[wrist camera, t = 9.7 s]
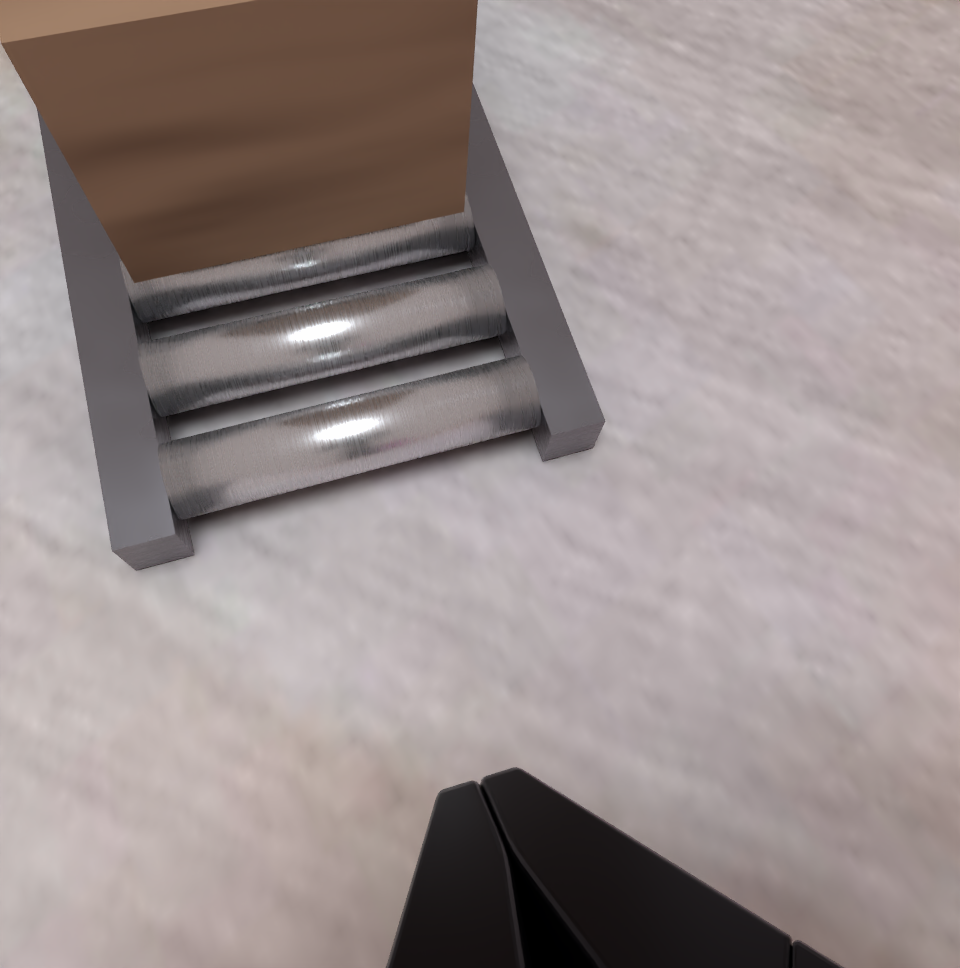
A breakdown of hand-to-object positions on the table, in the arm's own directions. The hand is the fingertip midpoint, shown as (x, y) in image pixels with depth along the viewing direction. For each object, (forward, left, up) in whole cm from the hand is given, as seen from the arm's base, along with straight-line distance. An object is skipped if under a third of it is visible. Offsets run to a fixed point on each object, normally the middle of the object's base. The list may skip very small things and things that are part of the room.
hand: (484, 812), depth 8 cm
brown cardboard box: (+9, -17, -11) cm, 22 cm away
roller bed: (+8, -15, -13) cm, 21 cm away
